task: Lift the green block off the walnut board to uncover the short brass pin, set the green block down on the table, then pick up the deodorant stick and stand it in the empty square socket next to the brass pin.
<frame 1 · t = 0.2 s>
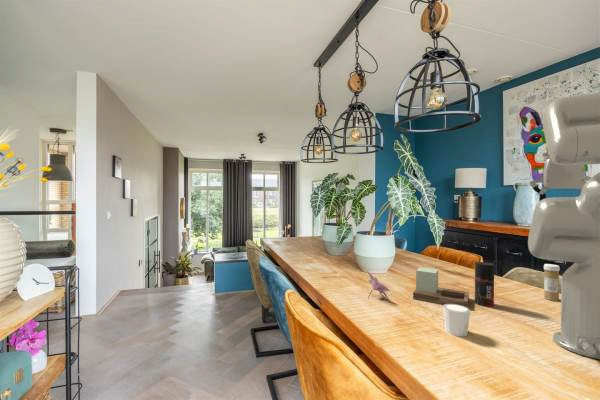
hand: (562, 206, 93), 37 cm above the table, tool pointing down, fingers open, 9 cm apart
sprinkles bottle: (551, 299, 109), on the table
board: (441, 298, 109), on the table
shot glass: (456, 332, 81), on the table
deodorant: (484, 304, 103), on the table
green block: (427, 290, 111), point 2 cm above the table, touching board
lily: (377, 298, 109), on the table
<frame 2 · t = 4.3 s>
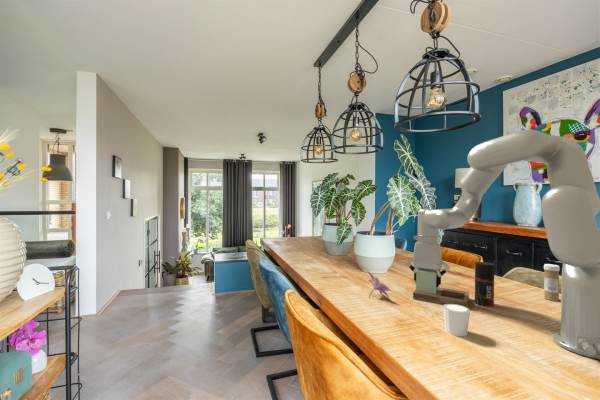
hand: (427, 284, 111), 5 cm above the table, tool pointing down, fingers closed on green block, 7 cm apart
green block: (427, 290, 111), point 2 cm above the table, touching board, gripper
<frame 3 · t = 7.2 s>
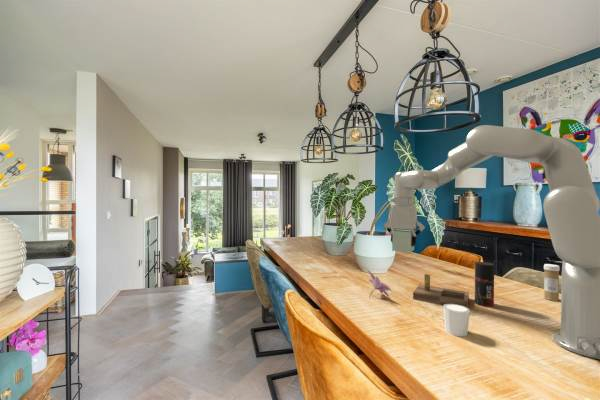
hand: (403, 244, 115), 20 cm above the table, tool pointing down, fingers closed on green block, 7 cm apart
green block: (403, 250, 115), point 17 cm above the table, touching gripper
when the fingers open (4 cm above the table, at t = 9.9 s): green block drops 2 cm, on the table.
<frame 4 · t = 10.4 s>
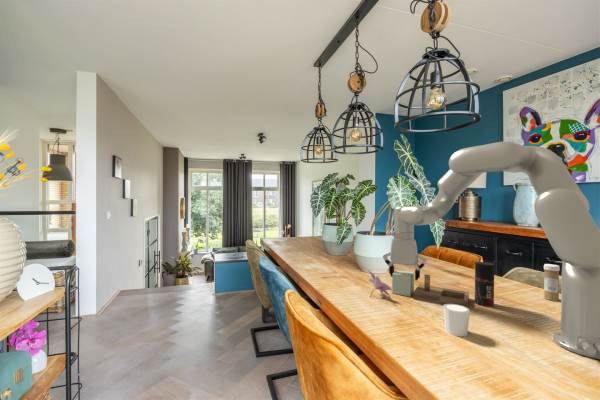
hand: (404, 277, 115), 6 cm above the table, tool pointing down, fingers open, 9 cm apart
green block: (403, 292, 115), on the table
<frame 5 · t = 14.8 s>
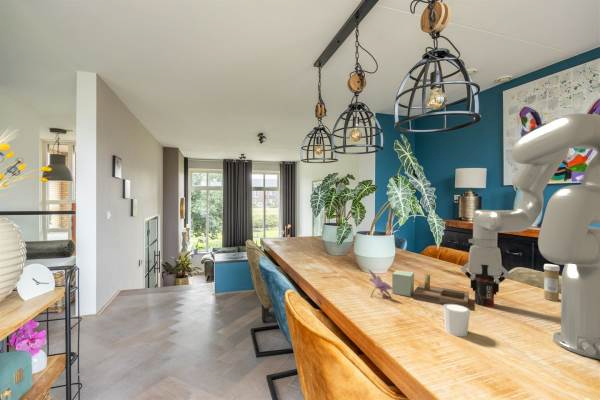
hand: (484, 291, 103), 5 cm above the table, tool pointing down, fingers closed on deodorant, 5 cm apart
deodorant: (484, 304, 103), on the table, touching gripper
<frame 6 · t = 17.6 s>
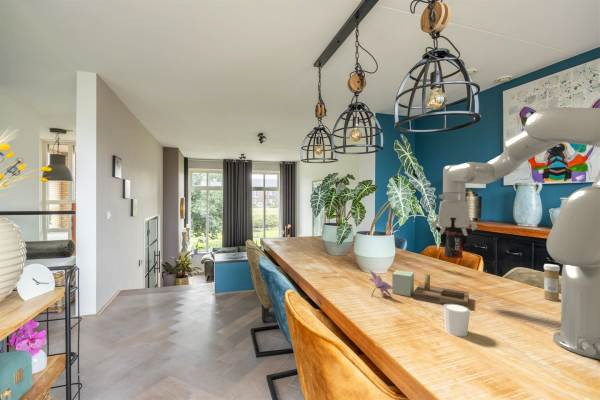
hand: (453, 244, 106), 21 cm above the table, tool pointing down, fingers closed on deodorant, 5 cm apart
deodorant: (453, 257, 106), point 17 cm above the table, touching gripper
when the fingers open (6 cm above the table, at t = 20.7 s): deodorant drops 1 cm, resting in board.
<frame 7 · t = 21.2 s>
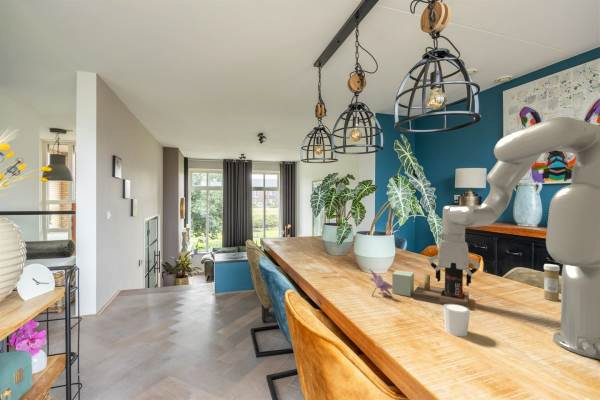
hand: (452, 282, 106), 7 cm above the table, tool pointing down, fingers open, 9 cm apart
deodorant: (453, 301, 106), resting in board
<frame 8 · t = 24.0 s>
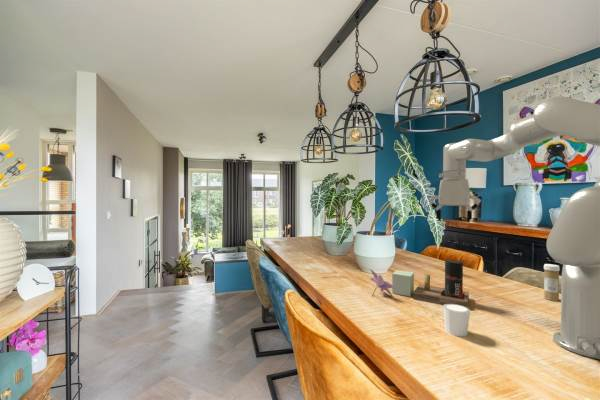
hand: (453, 221, 106), 30 cm above the table, tool pointing down, fingers open, 9 cm apart
at the end: deodorant 0.2 cm from the target spot on the board, point 0.0 cm above the board's base; deodorant tilted 0°; green block moved 9.3 cm from its start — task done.
